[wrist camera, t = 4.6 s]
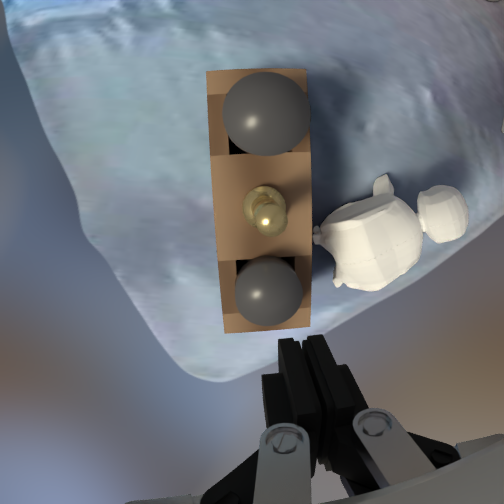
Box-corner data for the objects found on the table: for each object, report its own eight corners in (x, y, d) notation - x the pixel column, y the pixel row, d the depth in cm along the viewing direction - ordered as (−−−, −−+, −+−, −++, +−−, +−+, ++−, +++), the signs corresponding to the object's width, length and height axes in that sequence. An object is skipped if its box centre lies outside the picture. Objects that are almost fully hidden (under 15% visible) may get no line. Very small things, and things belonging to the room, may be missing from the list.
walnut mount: (287, 89, 27) (306, 69, 20) (293, 288, 33) (310, 326, 26) (213, 92, 27) (206, 71, 19) (226, 292, 33) (224, 333, 25)
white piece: (342, 268, 36) (459, 224, 30) (339, 313, 29) (486, 260, 23) (311, 204, 34) (437, 152, 27) (301, 236, 27) (465, 170, 20)
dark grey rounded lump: (283, 231, 30) (303, 262, 22) (284, 278, 32) (302, 323, 23) (232, 234, 30) (232, 266, 22) (235, 281, 32) (237, 328, 23)
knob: (283, 98, 24) (308, 72, 15) (286, 155, 25) (312, 155, 17) (224, 100, 24) (220, 73, 15) (227, 157, 25) (224, 158, 17)
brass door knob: (283, 184, 22) (298, 193, 17) (284, 226, 23) (298, 245, 18) (241, 186, 22) (243, 195, 17) (243, 228, 23) (246, 248, 18)
